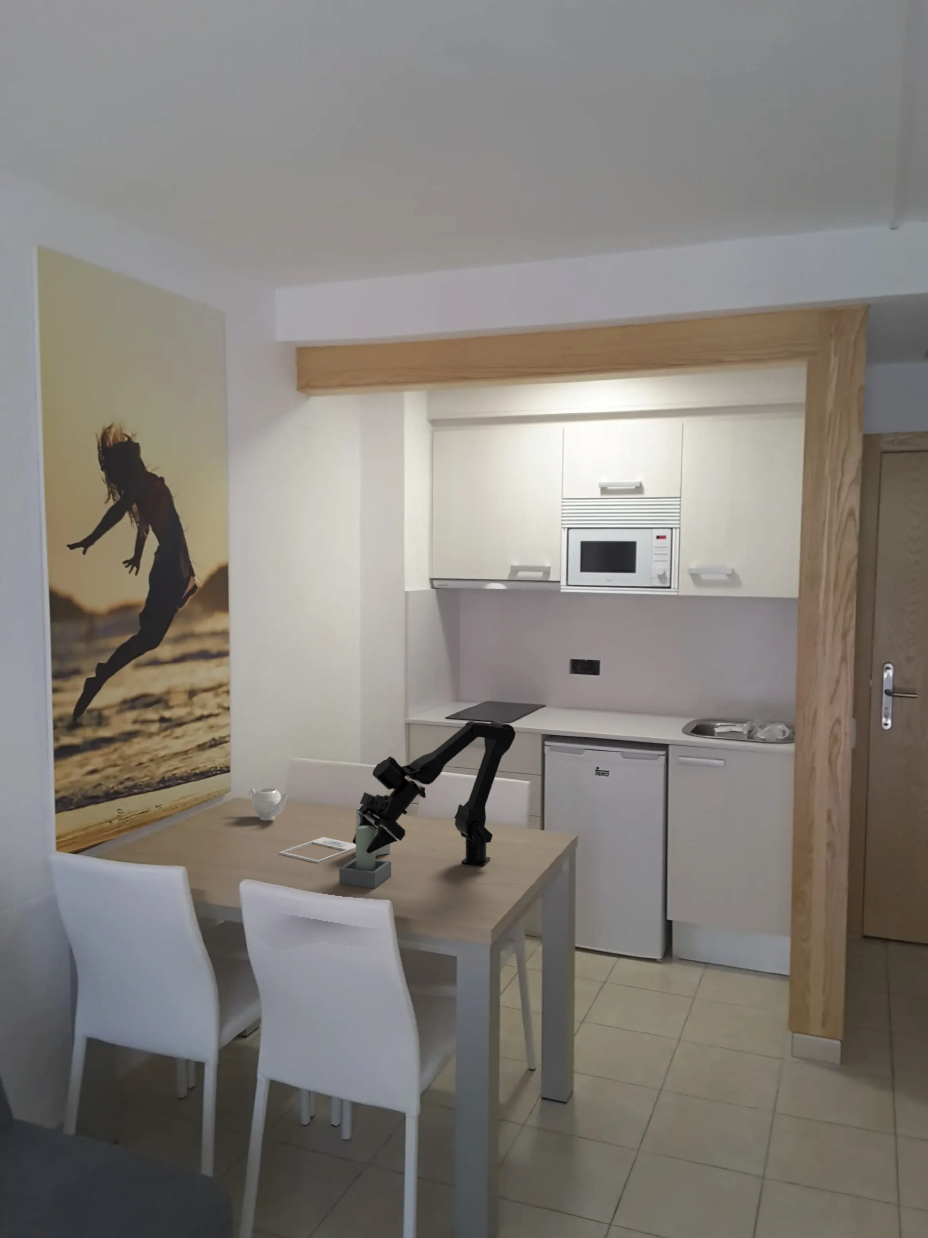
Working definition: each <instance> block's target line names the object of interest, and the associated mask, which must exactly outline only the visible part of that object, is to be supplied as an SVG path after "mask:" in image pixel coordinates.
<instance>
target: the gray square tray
mask: <svg viewBox="0 0 928 1238" xmlns="http://www.w3.org/2000/svg"><path fill="white" fill-rule="evenodd" d="M338 869H339V871H338V873H339V875H338V878H339V879H338V880H339V881H338V882H339V883H338V884H339V885H341V886H342V885H343V886H350V887H351V886H352V887H359V888H366V889H374V890H376V889H377V888H378V887H380V886H381V885H382V884H383V883H385V881H387V880H388V879H390V878H391V877H392V861H390V860H384V859H383V860H382V859H375V870H374V871H365V870H357V869H356V857H355V858H354V859H352V860H350V861H349V862H347V863H346V864H344V865H343V866H342V867H340V868H338Z"/></svg>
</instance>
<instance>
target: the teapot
mask: <svg viewBox="0 0 928 1238" xmlns="http://www.w3.org/2000/svg"><path fill="white" fill-rule="evenodd" d="M247 795H248V796H249V795H251V805H252V807H253V810H254V811H255V812H256V813H257V815H259V820H261V821H272V820H274V819H276V816H278V815H280V813H281V812H282V811H283V810H284V808H285V805H286V803H287V800H288V796H289V795H288V794H285V793H284V794H281V793H280V792H279V790H278V789H276V788H274V787H263V788H259V789H257V790H255V788H251V789H249V791H248V793H247Z"/></svg>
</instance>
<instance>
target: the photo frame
mask: <svg viewBox="0 0 928 1238" xmlns="http://www.w3.org/2000/svg"><path fill="white" fill-rule="evenodd" d="M311 844H313V845H318V846H322V847H327V848H331V849H336V850H338V851H339V850H340V851H339V852H337V853H333V854H332V855H329V856H326V857H324V858H321V859H318V860H317V859H314V858H310V857H306V856H303V855H298V854H294V853H289V852H291V851H295V850H297V849H300V848H301V849H302V848H304V847H306V846H309V845H311ZM354 850H356V844H354V843H353V842H346V841H343V840H338V839H335V838H330V837H324V836H322V837H319V838H316V839H313V840H311V841H308V842H305V843H301V844H298V845H295V846H293V847H290V848H288V849H285V850H282V851H279V855H282V856H287V857H291V858H294V859H299V860H304V861H307V862H310V863H311V862H312V863H316V864H320V863H323V862H325V861H328V860H331V859H333V858H335V857H338V856H340V855H343V854H346V853H349V852H352V851H354Z"/></svg>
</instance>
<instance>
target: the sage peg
mask: <svg viewBox="0 0 928 1238" xmlns="http://www.w3.org/2000/svg"><path fill="white" fill-rule="evenodd" d="M355 834H356V849H355V858H356V869H357V870H365V871H374V870H375V860H376V856H375V851H374V852H372V853H370V854H368V853H367V852H366V850H367V848H368V846H369V845H370V843H371V842H372V840H373V839H374V837H375V827H373V826H359V827H357V828H356V827H355Z"/></svg>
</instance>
